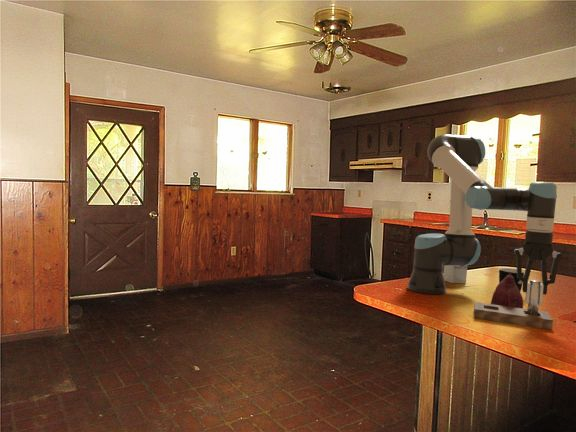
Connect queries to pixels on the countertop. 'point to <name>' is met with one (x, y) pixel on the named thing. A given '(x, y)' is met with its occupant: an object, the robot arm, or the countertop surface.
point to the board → (512, 315)
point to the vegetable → (507, 293)
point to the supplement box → (455, 273)
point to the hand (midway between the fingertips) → (533, 303)
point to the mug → (505, 271)
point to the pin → (534, 298)
